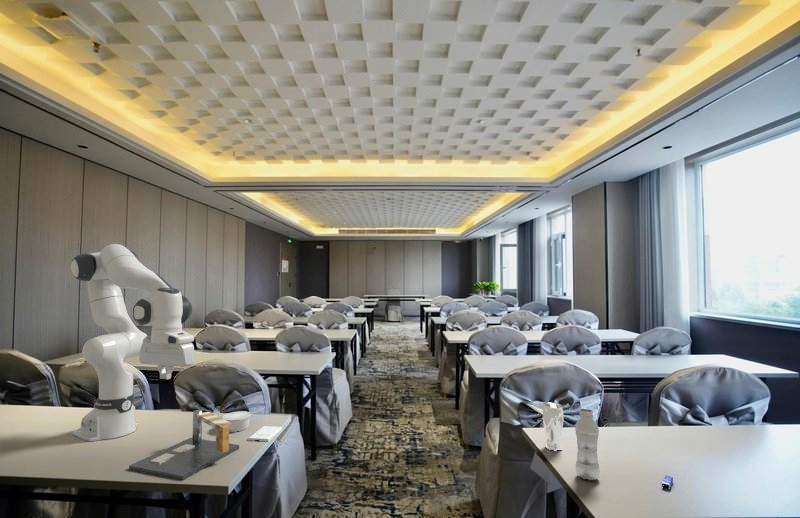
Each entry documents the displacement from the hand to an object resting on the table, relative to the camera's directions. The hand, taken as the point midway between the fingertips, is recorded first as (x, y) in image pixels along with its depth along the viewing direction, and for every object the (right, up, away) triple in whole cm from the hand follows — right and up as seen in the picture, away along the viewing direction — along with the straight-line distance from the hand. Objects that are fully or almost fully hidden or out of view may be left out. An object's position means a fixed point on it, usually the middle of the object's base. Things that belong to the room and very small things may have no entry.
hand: (165, 378), depth 133 cm
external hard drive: (+26, -29, +22) cm, 45 cm away
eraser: (+155, -26, -17) cm, 159 cm away
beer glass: (+133, -28, +9) cm, 136 cm away
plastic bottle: (+134, -26, -12) cm, 138 cm away
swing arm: (+14, -24, +6) cm, 28 cm away
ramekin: (+11, -29, +29) cm, 43 cm away
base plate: (+6, -27, +2) cm, 28 cm away
